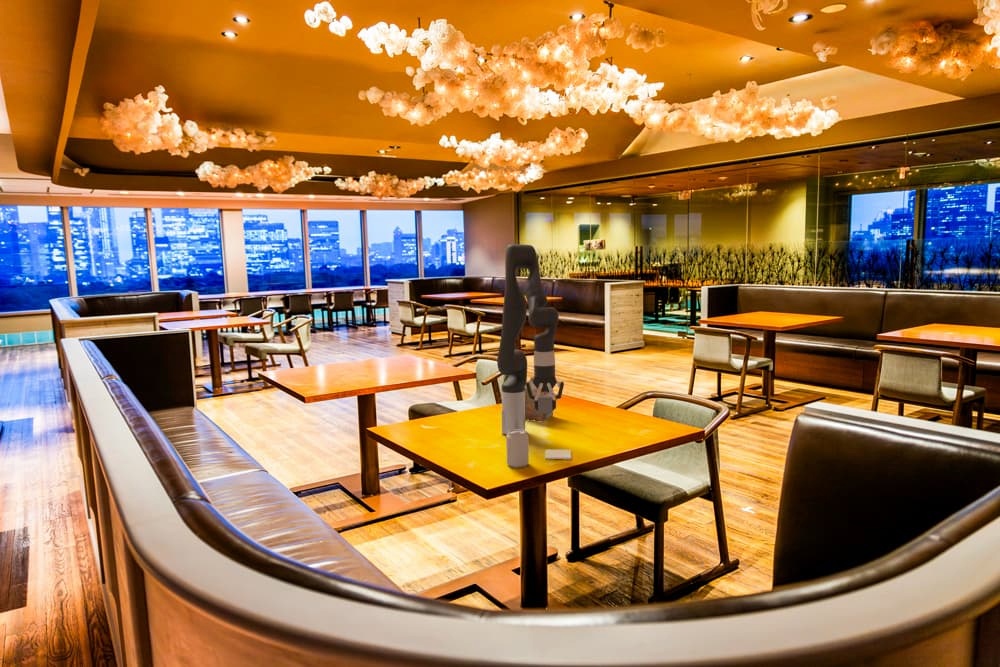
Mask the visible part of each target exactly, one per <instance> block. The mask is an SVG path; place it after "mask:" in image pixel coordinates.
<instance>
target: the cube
mask: <svg viewBox="0 0 1000 667" xmlns="http://www.w3.org/2000/svg"><path fill="white" fill-rule="evenodd" d="M538 414H552V397H538Z"/></svg>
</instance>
